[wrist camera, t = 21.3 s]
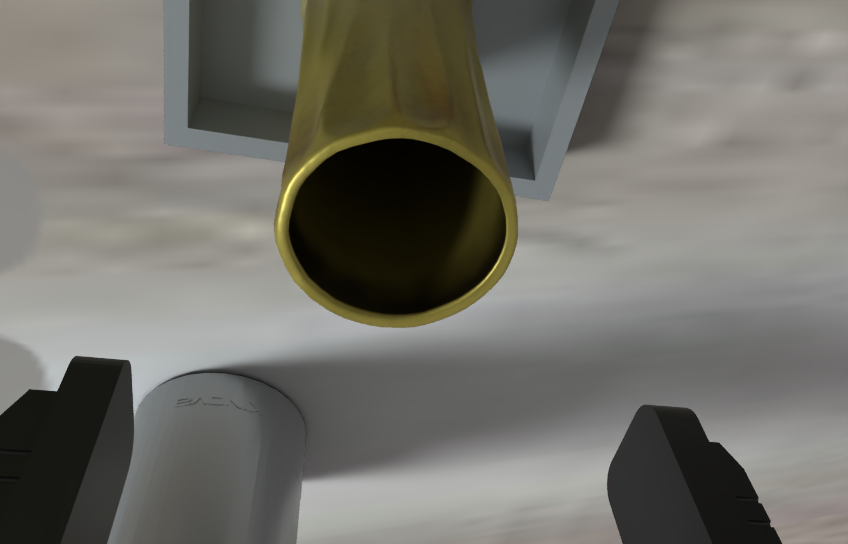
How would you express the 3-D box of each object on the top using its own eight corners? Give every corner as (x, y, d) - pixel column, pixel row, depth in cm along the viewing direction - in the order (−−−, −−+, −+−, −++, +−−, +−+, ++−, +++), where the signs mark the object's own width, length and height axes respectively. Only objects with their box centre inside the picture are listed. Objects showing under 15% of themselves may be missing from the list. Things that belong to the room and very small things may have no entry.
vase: (326, -105, 25) (287, 65, 14) (497, -45, 26) (591, 155, 15) (285, 64, 28) (227, 313, 17) (439, 109, 30) (479, 366, 19)
